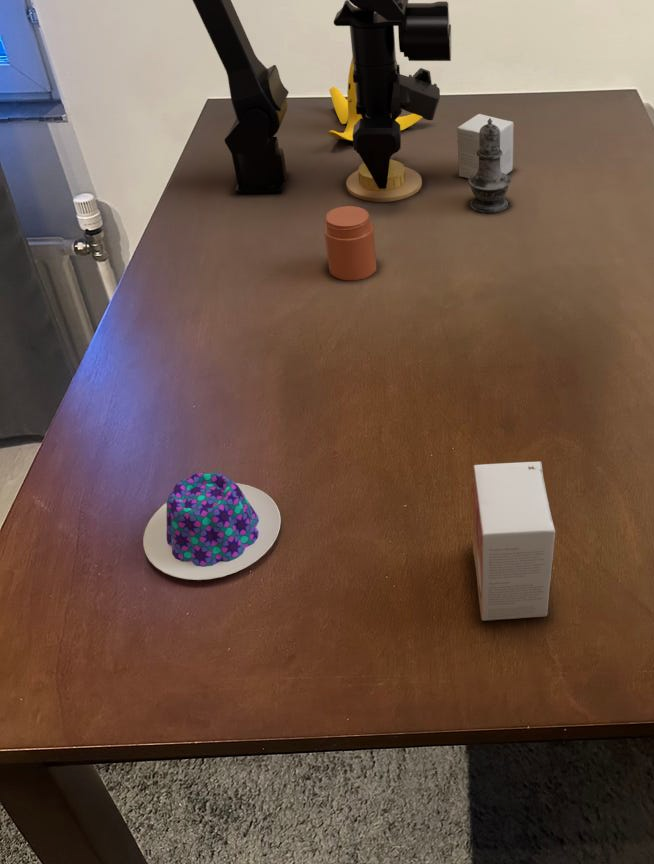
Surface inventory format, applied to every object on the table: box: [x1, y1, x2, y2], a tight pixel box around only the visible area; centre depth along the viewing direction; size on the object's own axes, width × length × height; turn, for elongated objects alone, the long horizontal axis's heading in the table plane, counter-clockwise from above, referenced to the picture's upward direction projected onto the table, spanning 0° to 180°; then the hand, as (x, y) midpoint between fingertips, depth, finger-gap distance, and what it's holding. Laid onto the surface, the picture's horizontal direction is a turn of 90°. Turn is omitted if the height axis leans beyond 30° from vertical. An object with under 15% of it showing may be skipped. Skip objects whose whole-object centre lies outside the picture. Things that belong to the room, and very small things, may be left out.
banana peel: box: [328, 56, 423, 142], centre depth 139 cm, size 16×19×17 cm
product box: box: [456, 113, 514, 179], centre depth 130 cm, size 6×6×7 cm
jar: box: [323, 205, 378, 281], centre depth 111 cm, size 6×6×7 cm
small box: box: [472, 461, 556, 622], centre depth 72 cm, size 8×6×10 cm
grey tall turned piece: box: [467, 118, 512, 214], centre depth 121 cm, size 6×6×12 cm
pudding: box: [142, 472, 282, 581], centre depth 78 cm, size 12×12×5 cm
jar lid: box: [357, 158, 405, 191], centre depth 129 cm, size 7×7×2 cm
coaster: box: [345, 166, 423, 203], centre depth 130 cm, size 11×11×1 cm
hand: (383, 174), depth 129 cm, fingers open, 9 cm apart
